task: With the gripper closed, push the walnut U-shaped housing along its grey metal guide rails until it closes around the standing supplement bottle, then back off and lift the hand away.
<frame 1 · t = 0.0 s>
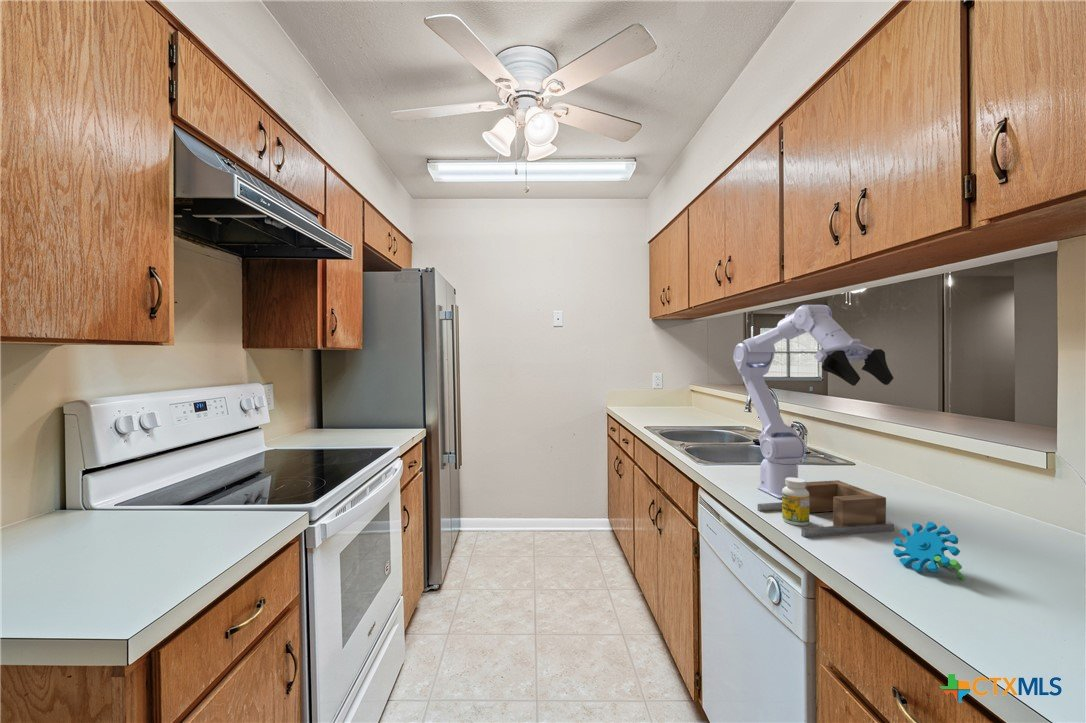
hand: (873, 381, 91), 32 cm above the counter, tool tilted 50°, fingers open, 7 cm apart
gear: (927, 570, 78), on the counter
housing: (840, 503, 101), point 3 cm above the counter, slide at 10.0 cm
supplement bottle: (795, 522, 100), on the counter
guide rails: (821, 519, 101), on the counter
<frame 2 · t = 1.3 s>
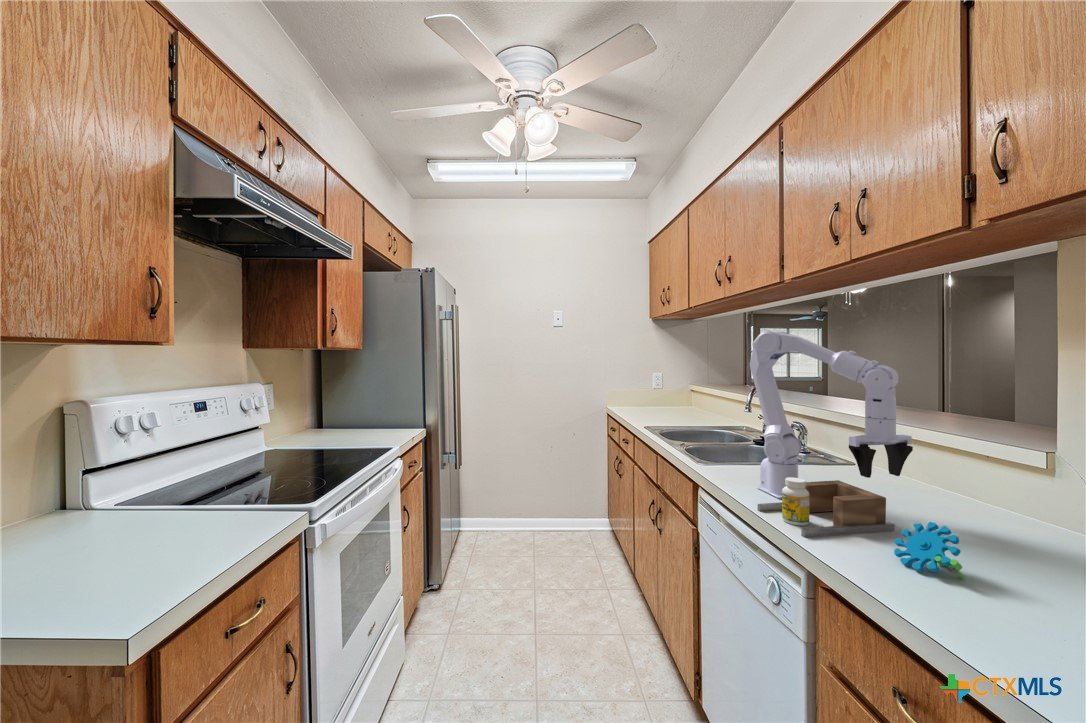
hand: (880, 475, 102), 9 cm above the counter, tool pointing down, fingers open, 7 cm apart
nothing on the counter moved.
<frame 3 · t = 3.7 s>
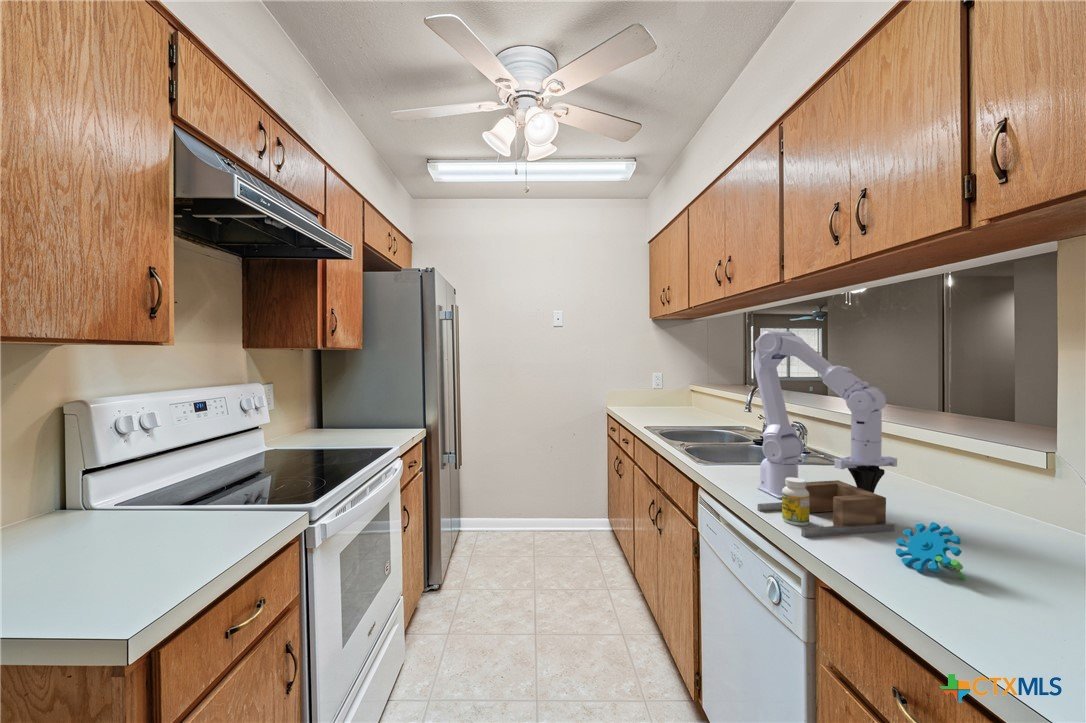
hand: (865, 498, 102), 4 cm above the counter, tool pointing down, fingers closed
housing: (840, 503, 101), point 3 cm above the counter, slide at 10.0 cm, touching gripper
everything else where it was.
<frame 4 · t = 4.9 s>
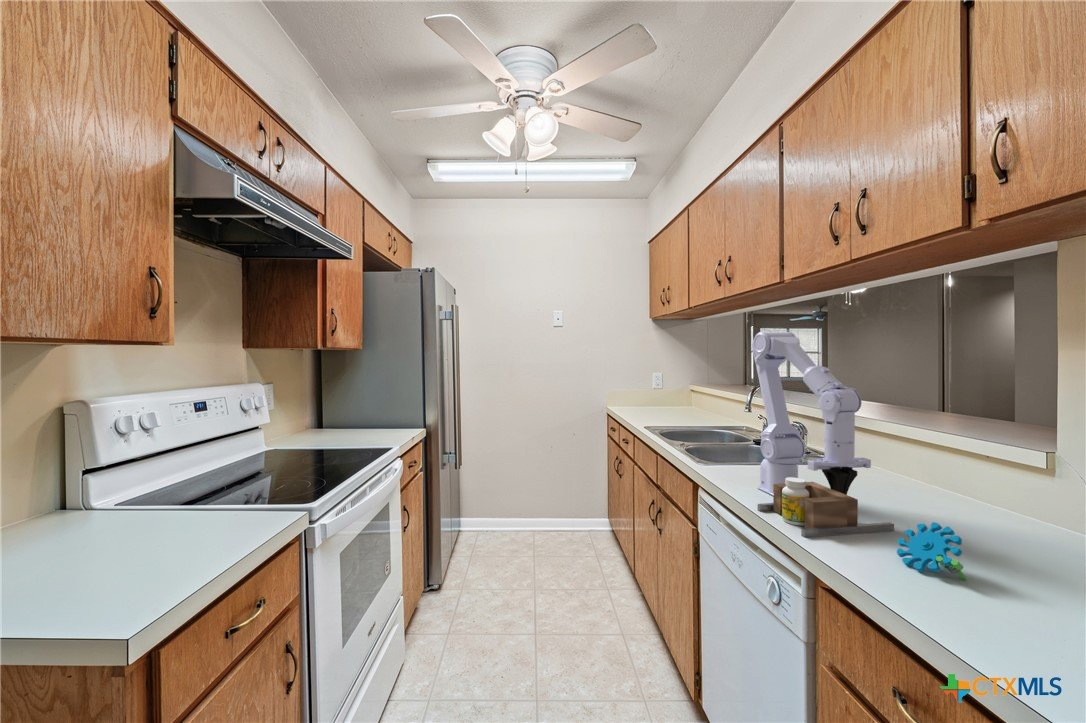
hand: (839, 499, 101), 4 cm above the counter, tool pointing down, fingers closed
housing: (813, 505, 100), point 3 cm above the counter, slide at 3.1 cm, touching gripper
everything else where it was.
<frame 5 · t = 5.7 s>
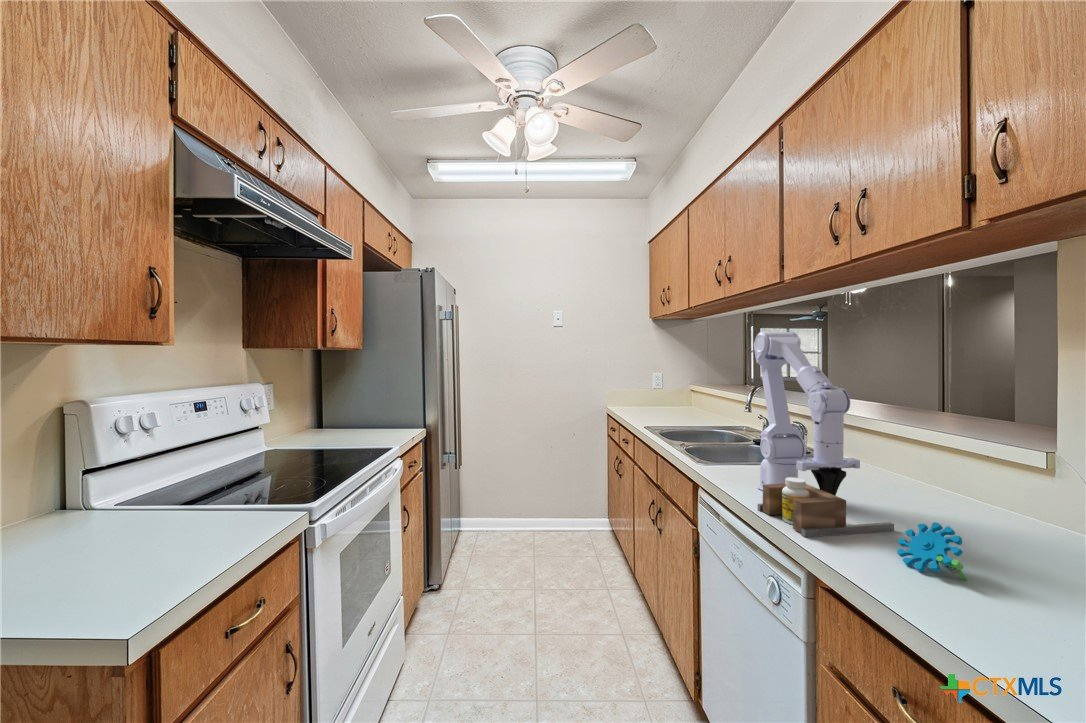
hand: (828, 500, 101), 4 cm above the counter, tool pointing down, fingers closed
housing: (801, 506, 100), point 3 cm above the counter, slide at 0.4 cm, touching gripper
everything else where it was.
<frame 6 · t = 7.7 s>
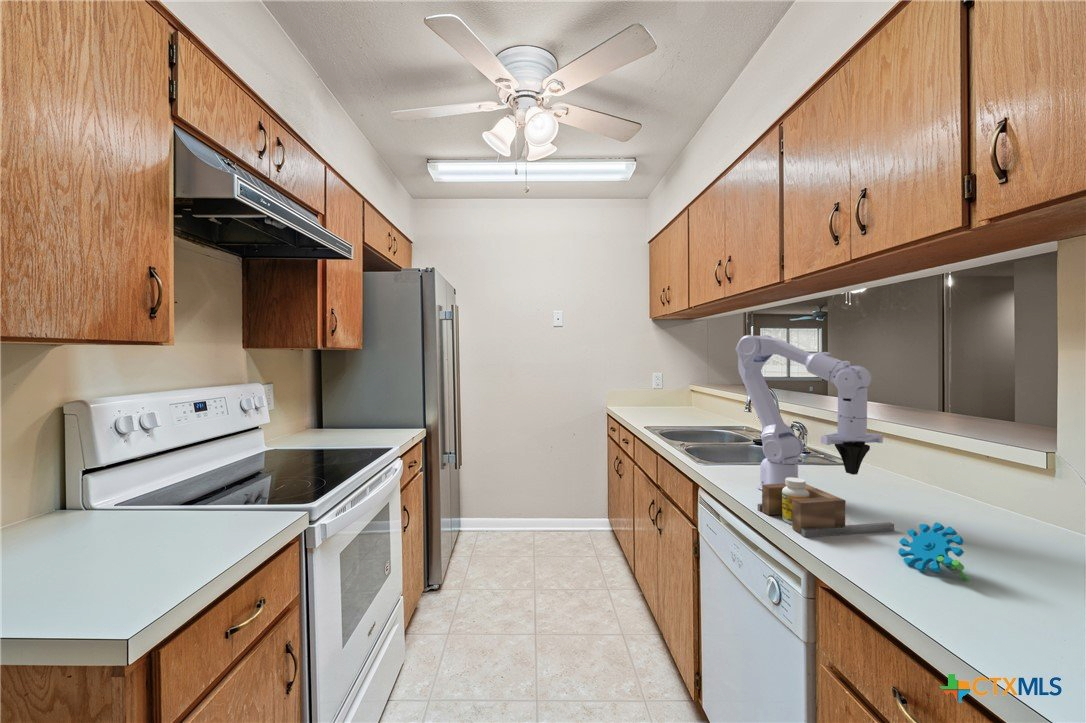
hand: (851, 473, 105), 9 cm above the counter, tool pointing down, fingers closed
housing: (801, 506, 100), point 3 cm above the counter, slide at 0.2 cm
everything else where it was.
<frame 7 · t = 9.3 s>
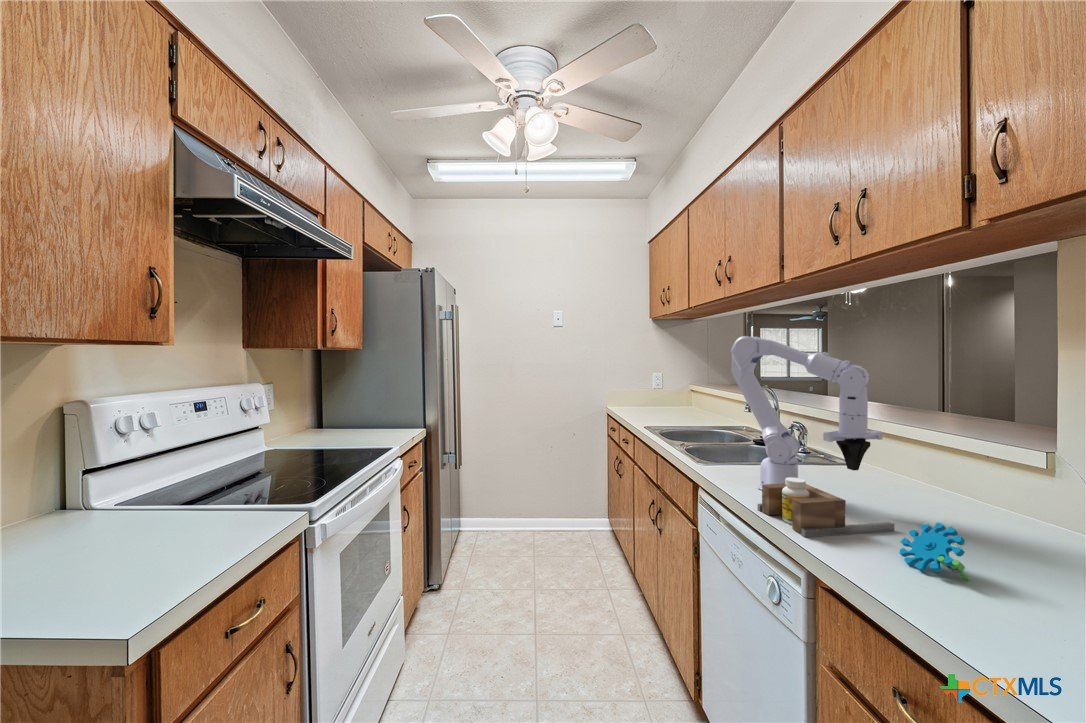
hand: (852, 469, 108), 9 cm above the counter, tool pointing down, fingers closed
nothing on the counter moved.
at the end: housing slide at 0.2 cm; supplement bottle tilted 0°; supplement bottle moved 0.2 cm from its start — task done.
